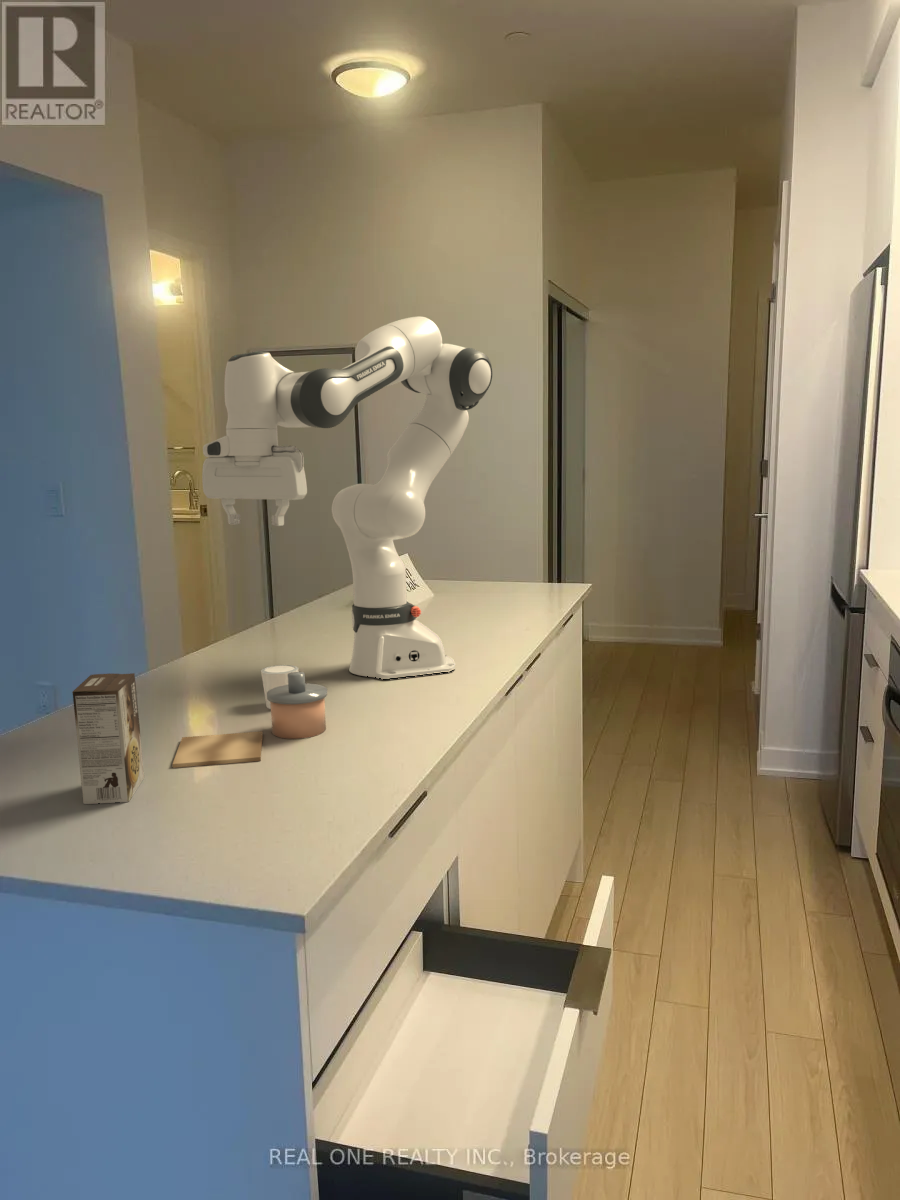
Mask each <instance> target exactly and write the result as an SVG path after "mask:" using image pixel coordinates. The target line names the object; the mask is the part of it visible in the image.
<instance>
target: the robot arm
mask: <svg viewBox="0 0 900 1200" xmlns="http://www.w3.org/2000/svg"><path fill="white" fill-rule="evenodd" d="M354 359H355V362H353V363H350V364H349V365H346V366H345V367H343V368H341V369H336V368H329V367H328V368H326V367H325V368H323V367H322V368H319V369H313V370H310V371H309V370H308V371H300V372H295V371H293V370H291V369H289V368H287V367H285V366H283V365H282V364H281V363H279V362H278V361H276V360H275V359H274V358H273V356H272V355H271V353H270V352H269V351H264V350H259V351H252V352H247V353H245V352H244V353H240V354H235V355H232V356H231V357H230V358H229V359H228V360H227V362H226V366H225V369H224V370H225V373H224V404H225V408H226V411H227V421H226V425H225V429H226V430H225V433H226V435H223V436H222V437H219V438H217V439H216V440H213V441H210V442H207V443H205V444H204V445H203V446H202V453H203V456H204V457H207V458H206V459H204V461H203V464H202V474H201V476H202V477H201V478H202V479H201V480H202V491H203V494H204V495H205V496H206V498H207V499H220V500H221V506H222V509H223V510H224V512H225V514H226V515H227V523H228V524H229V525H240V524H241V514H240V513H237V511H236V509H235V507H234V505H236V500H275V507H277V509H276V512H275V514H274V515H271V516H270V517H271V520H270V521H271V525H272V527H273V526H274V527H282V526H284V525H285V515H286V513H287V511H288V509H289V507H290V501H292V500H293V501H297V500H303V499H305V497H306V496H307V494H308V487H307V486H308V485H307V479H306V478H307V477H306V472H305V467H304V466H305V465H304V464H305V461H304V460H305V459H304V453H303V452H302V450H300V449H299V448H297V447H296V446H295V445H288V446H287V445H286V446H284V445H279V437H278V436H279V435H278V426H280V427H283V428H286V429H288V428H290V429H291V428H299V429H300V428H319V429H331V428H335V427H336V426H339V425H340V424H341V423H342V422H343V421H345V419H346V418H347V417H348V415H349V414H350V412H351V411H352V410H353V409H354V408H355V407H356V405H357V404H359V403H360V402H361V401H362V400H365V399H366V398H368V397H369V396H371V395H373V394H374V393H376V392H378V391H380V390H381V389H383V388H385V387H386V388H387V387H390V386H393V385H396V384H399V383H401V385H402V386H404V387H405V388H406V389H408V390H409V391H412V392H415V393H417V394H424V395H426V397H425V400H424V403H423V406H422V408H421V410H419V412H417V414H416V415H415V416H414V417H413V418H412V420H410V422H409V423H408V425H407V426H406V427H405V429H404V430H403V431H402V432H401V434H400V435H399V436H398V438H397V439H396V441H395V442H394V443H393V445H392V446H391V447H390V448H389V450H388V452H387V455H386V460H387V467H386V469H385V471H384V473H383V475H382V477H381V478H380V480H378V481H377V482H376V483H375V484H374V483H356V484H353V485H349V486H347V487H345V488H342V489H341V490H339V491H338V492H337V494H335V496H334V498H333V501H332V504H331V515H332V518H333V520H334V522H335V524H336V525H337V527H338V528H339V529H340V531H341V535H342V536H343V539H344V542H345V546H346V550H347V552H348V556H349V561H350V564H351V565H350V566H351V572H352V574H351V575H352V588H353V604H352V605H351V607H352V609H351V621H352V622H351V624H352V627H351V628H352V630H353V646H352V654H351V661H350V665H349V668H348V670H349V672H350V673H351V674H354V675H357V676H362V677H367V676H368V677H369V678H375V677H376V678H375V679H379V678H381V679H380V680H383V679H389V678H396V677H404V676H413V675H420V674H427V673H434V672H441V671H449V670H452V669H454V668H455V665H456V662H455V660H454V658H452V657H451V656H449V655H447V654H446V651H445V647H444V643H443V641H442V638H440V636H439V635H438V634H437V633H436V632H434V631H433V630H431V628H429V627H428V626H426V625H425V624H423V623H422V622H421V621H419V620H418V619H417V618H418V617H421V616H420V615H422V609H420V607H419V606H416V605H415V604H412V603H411V602H409V601H408V600H407V571H406V570H407V569H406V565H405V563H404V561H403V560H402V559H401V557H400V556H399V553H398V552H397V549H396V546H395V543H394V541H396V540H397V541H398V540H401V539H406V538H409V537H412V536H414V535H416V534H418V532H419V531H420V530H421V528H422V527H423V525H424V524H425V523H424V522H425V520H426V507H425V506H426V505H425V499H426V497H427V494H428V492H429V488H430V487H431V485H432V483H433V481H434V480H435V478H436V477H437V476H438V474H439V473H440V471H441V470H442V468H443V467H444V465H445V464H446V462H447V461H448V460H449V459H450V458H451V456H452V455H453V453H454V452H455V450H456V448H457V447H458V445H459V443H460V442H461V440H462V438H463V435H465V432H466V430H467V427H468V425H469V421H470V417H469V412H468V411H469V410H472V409H473V408H475V407H476V406H477V405H478V404H479V402H480V400H482V399H483V398H484V397H485V394H486V393H487V391H488V390H489V388H490V386H491V384H492V379H493V367H492V363H491V360H490V358H489V357H488V356H487V355H486V354H485V353H484V352H482V351H479V350H478V349H475V348H473V347H464V346H460V345H456V344H452V343H443V337H442V333H441V331H440V328H439V327H438V326H437V324H436V323H435V322H434V321H433V320H431V319H430V318H428V317H425V316H418V315H417V316H411V317H406V318H405V317H404V318H402V319H399V320H395V321H392V322H389V323H386V324H384V325H382V326H380V327H377V328H375V329H373V330H372V331H370V332H369V333H367V334H366V335H364V337H362V338H361V339H360V340H358V342H357V344H356V348H355V353H354ZM455 669H456V668H455Z"/></svg>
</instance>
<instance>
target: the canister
mask: <svg viewBox="0 0 900 1200" xmlns="http://www.w3.org/2000/svg"><path fill="white" fill-rule="evenodd" d="M325 699H326V697H325V698H323V699H321V700H318V701H314V702H310V703H303V704H278V703H273V702H270V705H271V709H270V718H271V719H270V720H271V733H272V735H273V736H275V737H277V738H281V739H289V740H290V739H291V740H296V739H298V740H299V739H306V738H307V739H308V738H311V737H315V736H319V735H321V734H323V733H324V732H325V731H326V730H327V725H326V724H327V722H326V718H327V717H326V704H325V703H326V701H325Z"/></svg>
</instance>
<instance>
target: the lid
mask: <svg viewBox="0 0 900 1200" xmlns="http://www.w3.org/2000/svg"><path fill="white" fill-rule="evenodd" d="M327 696H328V687H326V686H324V685H322V684H317V683H308V682H307V683H306V676H305V672H304V671H298V672H291V673H288V685H283V686H279V687H275V688H273V689H270V690H269V691H268V692H267V699H268V700H269V701H270V702H273V703H278V704H303V703H310V702H314V701H318V700H321V699H323V698H325V699H326V697H327Z"/></svg>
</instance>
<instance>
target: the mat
mask: <svg viewBox="0 0 900 1200" xmlns="http://www.w3.org/2000/svg"><path fill="white" fill-rule="evenodd" d="M263 733H264V732H263V730H262V731H261V730H260V731H250V732H235V733H224V734H223V733H222V734H209V735H196V736H183V737H181V740H180V742H179V745H178V748H177V750H176V753H175V755H174V758H173V761H172V768H187V767H201V766H212V765H223V764H225V765H226V764H227V765H228V764H237V763H250V762H251V763H252V762H261V759H262V751H263V750H262V748H263V736H264V734H263Z"/></svg>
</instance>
